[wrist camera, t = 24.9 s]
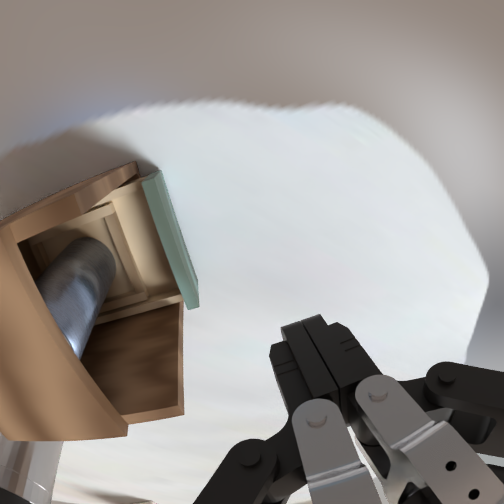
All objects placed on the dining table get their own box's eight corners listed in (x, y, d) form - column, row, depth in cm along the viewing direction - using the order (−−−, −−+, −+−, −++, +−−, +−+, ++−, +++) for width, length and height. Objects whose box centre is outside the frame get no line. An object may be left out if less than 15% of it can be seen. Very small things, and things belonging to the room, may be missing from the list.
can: (110, 299, 27) (75, 394, 16) (59, 281, 25) (3, 365, 14) (122, 247, 25) (80, 330, 14) (67, 229, 24) (-2, 297, 12)
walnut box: (57, 331, 29) (8, 440, 15) (3, 219, 24) (-97, 290, 9) (183, 296, 31) (184, 427, 16) (135, 160, 25) (65, 198, 10)
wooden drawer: (57, 320, 29) (42, 347, 24) (13, 229, 24) (-11, 247, 20) (197, 280, 30) (199, 307, 25) (161, 170, 25) (154, 178, 21)
